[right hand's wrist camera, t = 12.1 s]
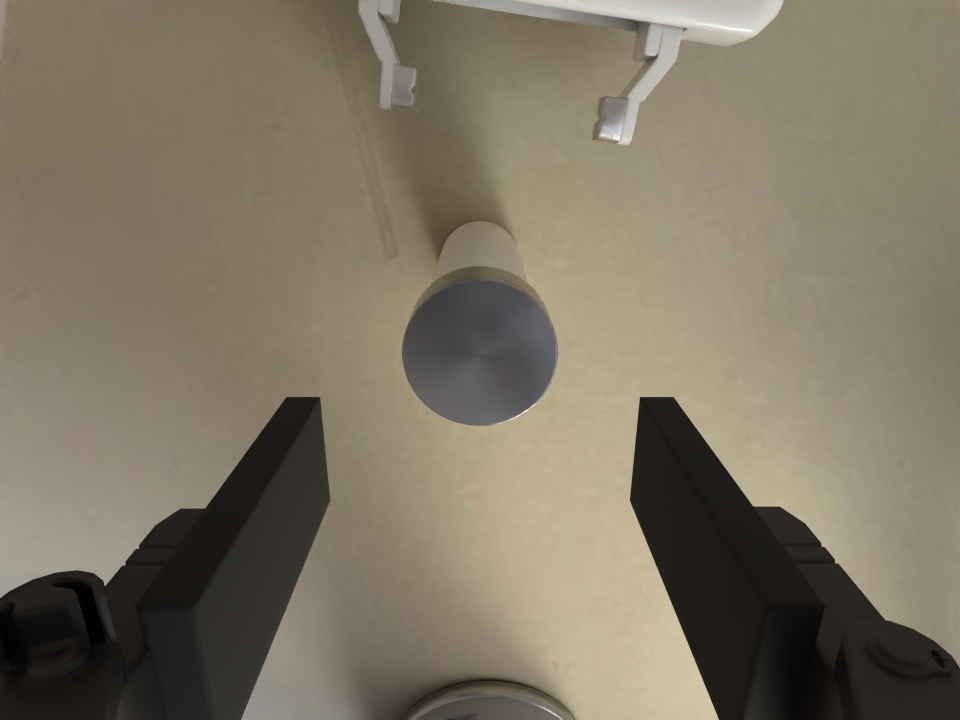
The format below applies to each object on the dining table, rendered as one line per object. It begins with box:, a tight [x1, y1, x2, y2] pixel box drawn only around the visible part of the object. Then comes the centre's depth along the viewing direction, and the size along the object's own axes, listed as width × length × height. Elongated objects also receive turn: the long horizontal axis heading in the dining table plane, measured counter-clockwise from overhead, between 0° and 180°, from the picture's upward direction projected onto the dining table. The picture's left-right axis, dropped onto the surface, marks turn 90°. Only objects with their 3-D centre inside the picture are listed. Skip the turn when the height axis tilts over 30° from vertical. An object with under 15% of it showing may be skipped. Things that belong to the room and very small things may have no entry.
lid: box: [402, 266, 558, 426], centre depth 21 cm, size 5×5×2 cm
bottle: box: [431, 221, 529, 284], centre depth 28 cm, size 4×4×16 cm
